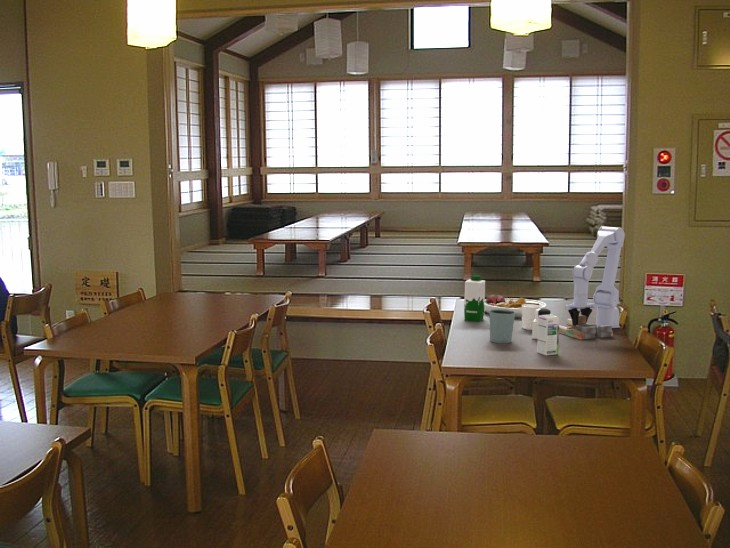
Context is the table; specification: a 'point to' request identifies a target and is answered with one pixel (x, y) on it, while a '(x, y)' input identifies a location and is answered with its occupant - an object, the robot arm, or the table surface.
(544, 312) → the medicine bottle
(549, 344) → the syrup box
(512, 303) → the bowl
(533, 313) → the white cup
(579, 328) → the gauge plate
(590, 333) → the gauge bed
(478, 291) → the milk carton
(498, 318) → the drinking glass
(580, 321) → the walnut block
